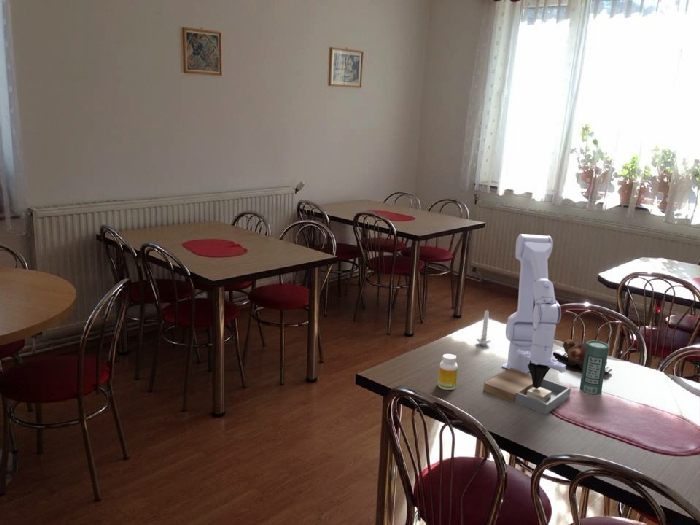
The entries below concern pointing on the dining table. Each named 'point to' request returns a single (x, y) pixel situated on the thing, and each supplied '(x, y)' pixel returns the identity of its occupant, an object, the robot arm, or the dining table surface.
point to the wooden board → (509, 384)
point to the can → (594, 367)
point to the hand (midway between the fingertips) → (536, 386)
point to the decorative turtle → (575, 352)
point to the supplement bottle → (448, 372)
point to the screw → (484, 331)
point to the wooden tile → (539, 394)
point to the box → (557, 398)
